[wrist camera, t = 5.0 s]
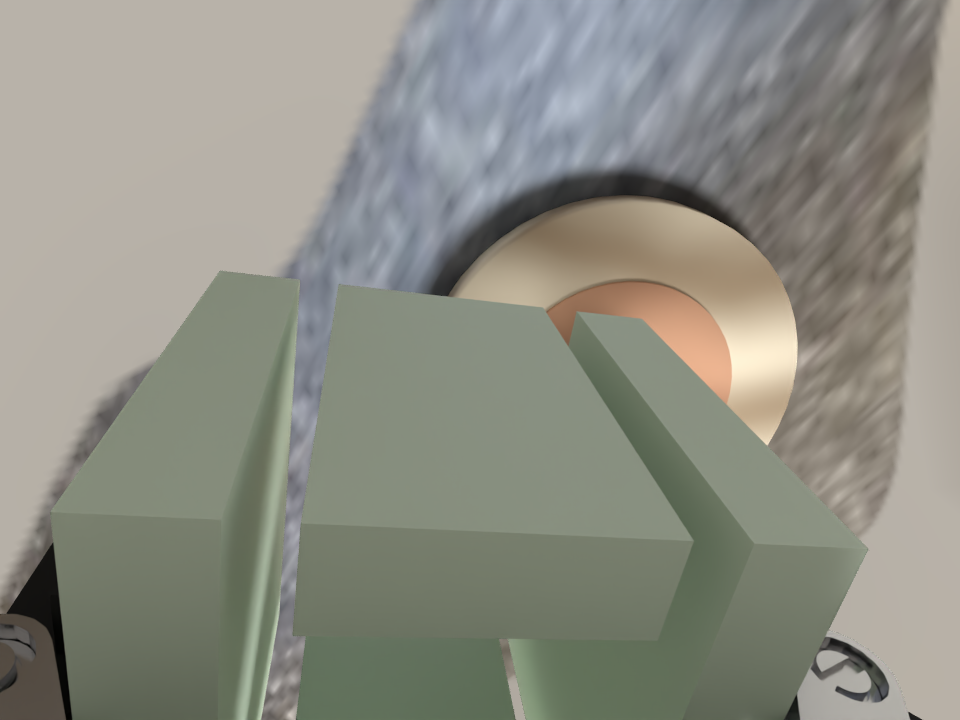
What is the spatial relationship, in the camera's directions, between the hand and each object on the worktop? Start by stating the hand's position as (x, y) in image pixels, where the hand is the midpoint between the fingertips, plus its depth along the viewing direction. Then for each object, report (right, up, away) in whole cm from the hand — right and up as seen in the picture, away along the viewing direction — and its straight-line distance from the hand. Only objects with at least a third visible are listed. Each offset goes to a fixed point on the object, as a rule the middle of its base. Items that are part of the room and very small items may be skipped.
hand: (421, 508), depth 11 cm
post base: (+6, +2, +18) cm, 19 cm away
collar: (0, 0, +1) cm, 1 cm away
